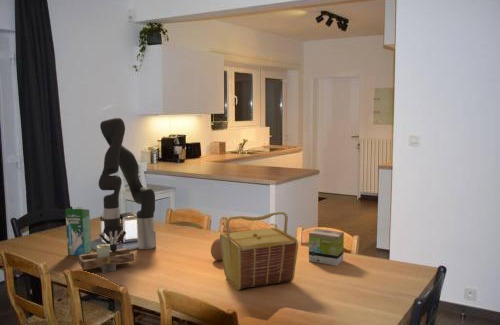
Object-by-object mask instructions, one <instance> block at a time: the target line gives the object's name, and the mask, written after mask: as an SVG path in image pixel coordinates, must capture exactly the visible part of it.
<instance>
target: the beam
mask: <svg viewBox="0 0 500 325" xmlns="http://www.w3.org/2000/svg"><path fill="white" fill-rule="evenodd" d="M77 256H78V257H77V258H78V264H79V265H80V267H81V269H82V270H87V269H94V268H95V269H96V268H99V269H100V271H101V272H102V273H103V274H105V273H112V272H116V271H117V264H118V265H120V264H126V263H132V262H135V254H134V252H130V248H129V247H126V248H125V247H124V248H117V250H116V252H112V251H111V250H110V249H109V256H108V257H102V258H97V251H96V252H92V253H90V252H89V253H87V254H83V255H77Z"/></svg>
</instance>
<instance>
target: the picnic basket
mask: <svg viewBox="0 0 500 325" xmlns="http://www.w3.org/2000/svg"><path fill="white" fill-rule="evenodd" d="M277 215H283V216H284V224H283V226H284V227H283V230H282V229H280V228H278V227H276V226H275V227H269V228H261V229H260V228H259V229H250V230H244V231H235V232H230V221H232V220H236V219H237V220H238V219H242V220H244V221H263V220H266V219H270V218H271V217H273V216H277ZM288 219H289V217H288V214H287V213H285V212H284V211H279V212H272V213H268V214H264V215H262V216H261V215H260V216H243V215H239V216H230V217H228V218H227V219H226V221H225V230H226V232H225V233H220V234H219V239H220V243H221V251H222V259H223V260H222V265H223V273H224V276H225V278H226V280H227V281H228V282H229V283H230V284H231V285H232V286H233V287H234V288H235V289H236V290H237V291H240V290H242V289H247V288H252V287H253V288H254V287H260V286H266V285H272V284H273V285H274V284H280V283H284V282H285V283H286V282H290V283H291V282H293V281H294V279H295V273H296V266H297V258H298V257H297V256H298V250H299V241H298V239H297V238H296V237H295V236H293V235H291V234H289V233H288V222H289V221H288Z"/></svg>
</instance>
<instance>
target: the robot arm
mask: <svg viewBox="0 0 500 325" xmlns="http://www.w3.org/2000/svg"><path fill="white" fill-rule="evenodd" d="M99 125H100V131H101V134H102V136H103V137H104V139H105V141H106V142H107V144H108V146H109V147H108V148H107V151H106V152H105V153H104V158H103V159H104V160H103V161H104V162H103V170H102V172H101V175H99V180H98V188H99V189H100V190H101V191H113V193H110V194H106V195H104V196H103V201H102V202H103V224H104V225H103V227H104V228H103V231H102V232H101V233H99V234H98V235H99V237H100V238H101V239H102V240H103V242H105V244H107V245H109V251H110V250H111V251H112V252H116V250H117V249H118V247H117V245H118V243H121V242H122V240H123V238H124V237H125V236H126V234H127V232H126V231H125V230H123V229H122V227H121V214H120V210H121V209H120V203H119V202H120V201H119V200H120V198H119V197H120V191H121V188H122V184H123V183H122V182H123V180H122V178H121V177H120V175H114V174H117V173H118V172H119V168H120V171H121V172H122V175H123V177H124V179H125V181H126V183H127V185H128V188H129V191H130V194H131V197H132V199H133V201H134V202H135V203H136V204H139V205H141V206H140V210H138V211H137V212H136V229H137V230H136V232H137V233H136V234H137V247H138V246H139V248H138V250H151V249H152V250H153V249H155V248H157V241H156V240H157V239H156V238H157V237H156V236H157V235H156V232H157V231H156V230H155V211H156V194H155V192H154V190H153V189H151V188H147V187H144V186H143V185H142V182H141V181H140V178H139V171H140V168H139V164H138V160H137V158H136V157H135V155H134V153H133V152H132V151H130V150H129V149H127V148H126V147H125V146H123V143H124V142H123V141H124V137H125V132H126V126H125V122H124V120H123V119H122V118H121V117H115V118H109V119H106V120H102V121H101V122H100V124H99ZM106 237H108V239H107V238H106Z"/></svg>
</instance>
